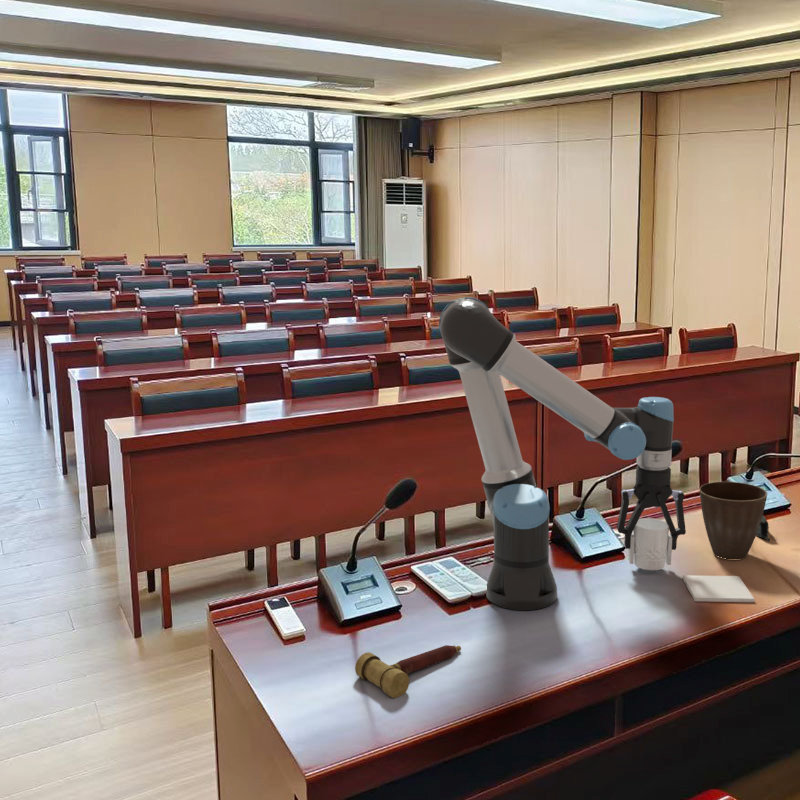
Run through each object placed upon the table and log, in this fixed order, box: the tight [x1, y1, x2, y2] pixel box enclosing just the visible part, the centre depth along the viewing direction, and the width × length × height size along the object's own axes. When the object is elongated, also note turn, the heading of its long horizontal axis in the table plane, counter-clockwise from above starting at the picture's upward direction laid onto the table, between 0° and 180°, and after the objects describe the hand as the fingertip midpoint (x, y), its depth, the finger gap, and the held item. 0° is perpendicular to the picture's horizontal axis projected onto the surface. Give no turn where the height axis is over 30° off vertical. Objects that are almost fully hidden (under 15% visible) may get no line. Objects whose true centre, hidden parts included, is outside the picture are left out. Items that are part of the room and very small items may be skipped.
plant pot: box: [699, 481, 768, 560], centre depth 202 cm, size 15×15×16 cm
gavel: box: [354, 644, 462, 699], centre depth 154 cm, size 21×5×10 cm
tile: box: [682, 574, 755, 603], centre depth 184 cm, size 12×12×1 cm
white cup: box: [632, 517, 670, 571], centre depth 195 cm, size 8×8×10 cm
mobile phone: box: [756, 515, 771, 542], centre depth 218 cm, size 5×3×15 cm
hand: (649, 562), depth 196 cm, fingers closed on white cup, 8 cm apart
